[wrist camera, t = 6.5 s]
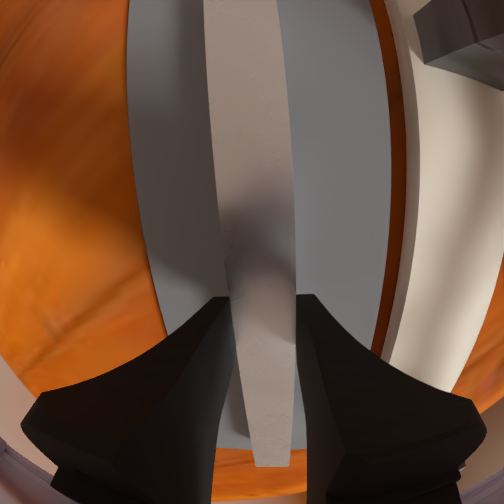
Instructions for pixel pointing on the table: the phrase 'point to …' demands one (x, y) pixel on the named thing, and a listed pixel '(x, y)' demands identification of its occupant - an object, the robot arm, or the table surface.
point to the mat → (303, 159)
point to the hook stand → (448, 182)
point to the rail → (256, 210)
